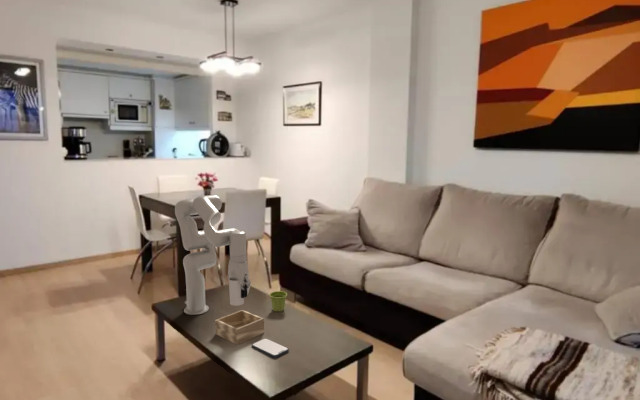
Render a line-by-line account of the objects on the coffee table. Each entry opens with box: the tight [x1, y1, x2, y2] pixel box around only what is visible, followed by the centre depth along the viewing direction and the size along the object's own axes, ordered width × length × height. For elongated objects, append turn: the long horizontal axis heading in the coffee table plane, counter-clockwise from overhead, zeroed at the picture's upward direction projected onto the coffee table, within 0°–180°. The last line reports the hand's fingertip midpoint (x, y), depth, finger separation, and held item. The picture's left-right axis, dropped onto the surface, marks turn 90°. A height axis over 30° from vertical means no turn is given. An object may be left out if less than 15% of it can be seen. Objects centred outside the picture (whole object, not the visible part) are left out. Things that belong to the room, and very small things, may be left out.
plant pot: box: [269, 290, 288, 312], centre depth 226 cm, size 9×9×9 cm
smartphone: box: [251, 338, 290, 359], centre depth 184 cm, size 9×2×16 cm
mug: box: [228, 278, 251, 306], centre depth 196 cm, size 10×7×12 cm, turn 123°
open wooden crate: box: [214, 309, 265, 345], centre depth 198 cm, size 16×16×7 cm
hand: (239, 295), depth 196 cm, fingers closed on mug, 6 cm apart
